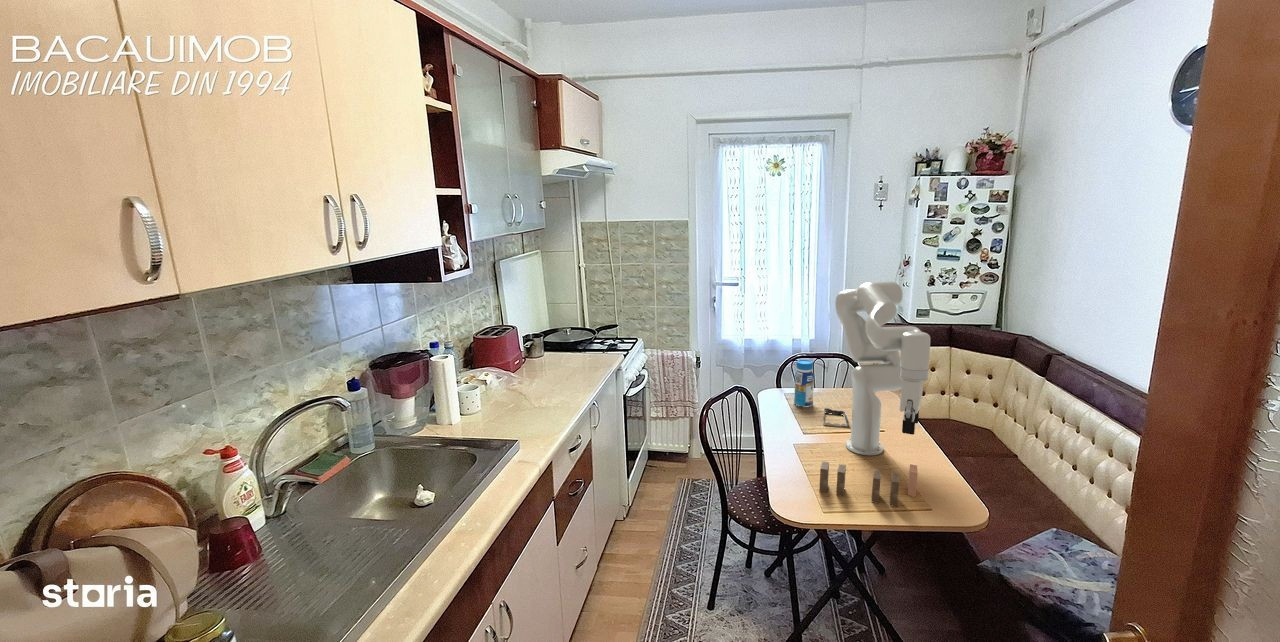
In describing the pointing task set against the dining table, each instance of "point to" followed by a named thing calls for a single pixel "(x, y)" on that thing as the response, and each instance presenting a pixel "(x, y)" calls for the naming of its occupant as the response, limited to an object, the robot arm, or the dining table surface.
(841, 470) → the domino
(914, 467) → the domino
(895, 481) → the domino
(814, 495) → the dining table surface
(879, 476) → the domino
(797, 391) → the blue wipes canister
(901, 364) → the robot arm
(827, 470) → the domino
